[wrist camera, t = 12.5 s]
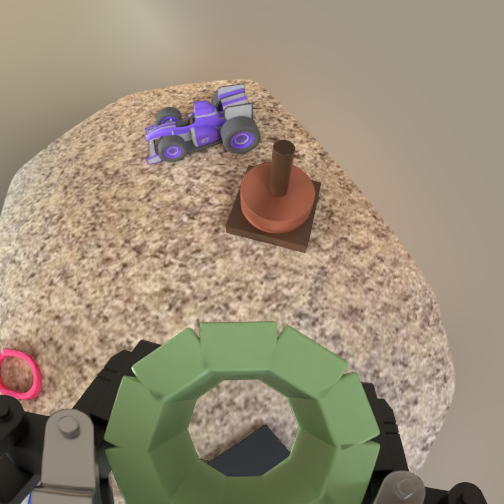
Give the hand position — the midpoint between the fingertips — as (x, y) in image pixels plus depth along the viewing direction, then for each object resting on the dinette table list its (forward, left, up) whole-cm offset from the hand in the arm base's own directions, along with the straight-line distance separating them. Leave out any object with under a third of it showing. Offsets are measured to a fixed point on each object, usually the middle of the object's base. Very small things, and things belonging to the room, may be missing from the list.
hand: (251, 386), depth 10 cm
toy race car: (+15, -29, -21) cm, 39 cm away
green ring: (0, +2, -1) cm, 2 cm away
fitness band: (+25, +9, -21) cm, 34 cm away
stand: (+2, -20, -21) cm, 29 cm away
